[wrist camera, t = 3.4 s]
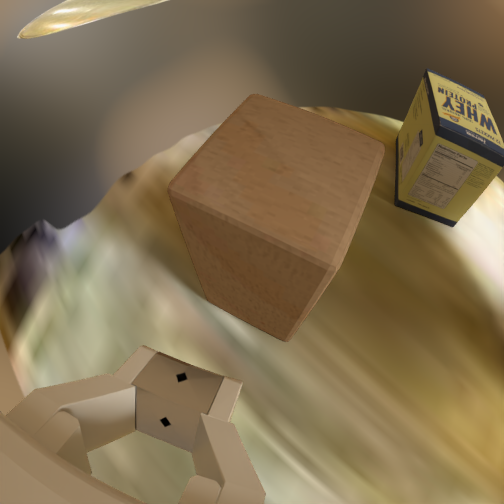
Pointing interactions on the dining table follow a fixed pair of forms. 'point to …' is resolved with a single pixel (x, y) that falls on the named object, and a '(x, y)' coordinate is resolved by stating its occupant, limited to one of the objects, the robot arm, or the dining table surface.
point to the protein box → (446, 150)
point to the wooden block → (273, 209)
